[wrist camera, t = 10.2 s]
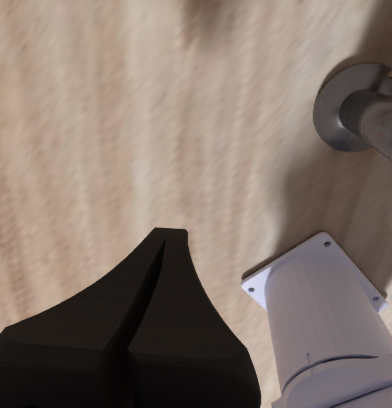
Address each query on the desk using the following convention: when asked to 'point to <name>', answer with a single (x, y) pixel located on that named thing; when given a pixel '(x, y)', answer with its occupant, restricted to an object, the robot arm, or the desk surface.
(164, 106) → the desk surface
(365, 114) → the gate post
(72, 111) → the desk surface
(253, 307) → the desk surface
